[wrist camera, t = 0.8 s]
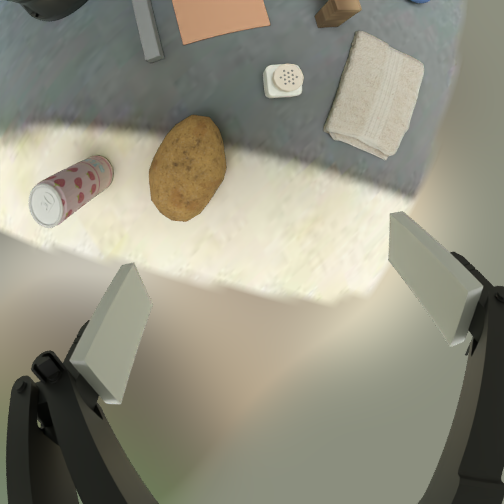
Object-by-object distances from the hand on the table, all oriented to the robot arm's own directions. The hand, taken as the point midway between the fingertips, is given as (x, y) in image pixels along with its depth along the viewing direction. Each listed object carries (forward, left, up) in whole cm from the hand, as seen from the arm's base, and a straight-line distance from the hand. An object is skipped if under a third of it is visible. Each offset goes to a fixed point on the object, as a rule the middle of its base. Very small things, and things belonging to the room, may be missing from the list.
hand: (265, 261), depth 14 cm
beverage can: (-5, -23, -29) cm, 37 cm away
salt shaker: (-10, +6, -29) cm, 31 cm away
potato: (-2, -8, -29) cm, 30 cm away
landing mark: (-25, +1, -29) cm, 38 cm away
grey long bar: (-25, -9, -29) cm, 39 cm away
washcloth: (-6, +20, -30) cm, 36 cm away
